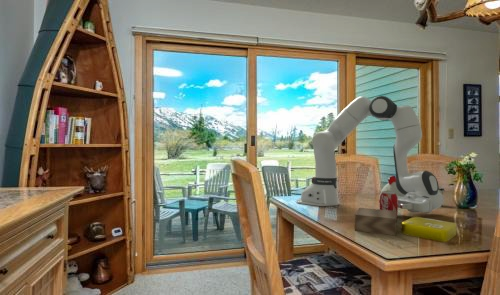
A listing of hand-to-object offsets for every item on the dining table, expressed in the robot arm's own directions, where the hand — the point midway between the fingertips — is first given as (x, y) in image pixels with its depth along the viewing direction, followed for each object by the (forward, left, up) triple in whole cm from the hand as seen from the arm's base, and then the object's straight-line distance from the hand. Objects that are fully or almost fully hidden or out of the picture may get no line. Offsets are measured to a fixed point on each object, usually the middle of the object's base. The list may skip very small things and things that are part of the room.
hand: (392, 204), depth 137 cm
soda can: (-1, -2, -7) cm, 7 cm away
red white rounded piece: (0, +40, -7) cm, 41 cm away
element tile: (+13, -17, -7) cm, 22 cm away
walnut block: (-5, -18, -7) cm, 20 cm away
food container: (+19, +47, -7) cm, 51 cm away
